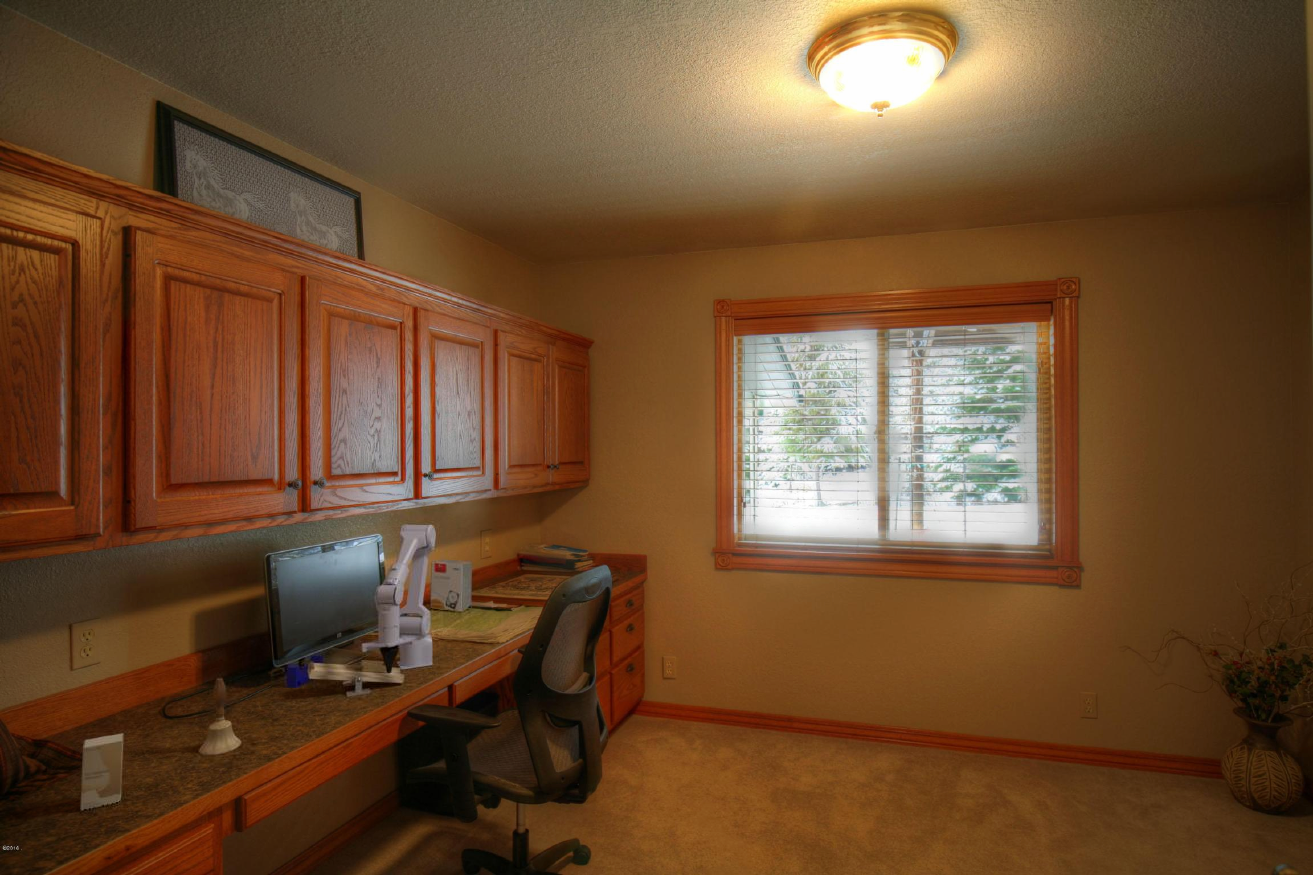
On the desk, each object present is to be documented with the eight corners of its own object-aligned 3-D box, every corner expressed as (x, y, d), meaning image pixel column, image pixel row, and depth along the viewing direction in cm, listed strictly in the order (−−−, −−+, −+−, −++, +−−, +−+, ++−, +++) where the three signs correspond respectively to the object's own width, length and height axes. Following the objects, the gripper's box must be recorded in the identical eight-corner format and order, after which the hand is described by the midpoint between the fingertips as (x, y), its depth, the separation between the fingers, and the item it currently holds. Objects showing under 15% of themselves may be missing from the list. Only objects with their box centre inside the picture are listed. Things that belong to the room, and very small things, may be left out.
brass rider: (380, 671, 203) (383, 661, 204) (383, 676, 199) (385, 665, 200) (359, 670, 200) (361, 660, 201) (361, 675, 196) (363, 664, 197)
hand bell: (199, 759, 154) (200, 687, 154) (197, 745, 161) (198, 677, 161) (242, 749, 159) (243, 679, 159) (239, 736, 166) (239, 670, 166)
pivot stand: (365, 681, 204) (365, 664, 204) (370, 692, 195) (370, 675, 195) (342, 684, 201) (342, 667, 201) (347, 696, 192) (347, 678, 192)
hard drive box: (429, 610, 289) (429, 562, 289) (440, 605, 296) (441, 559, 296) (461, 613, 284) (461, 564, 284) (472, 608, 291) (472, 561, 291)
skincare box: (79, 812, 132) (80, 748, 132) (81, 802, 136) (82, 739, 136) (122, 801, 136) (122, 739, 136) (123, 792, 140) (123, 731, 140)
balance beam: (398, 675, 207) (400, 665, 207) (402, 682, 201) (405, 673, 201) (307, 670, 195) (309, 660, 195) (309, 678, 189) (311, 668, 189)
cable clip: (309, 673, 211) (309, 653, 211) (322, 674, 210) (322, 654, 210) (281, 687, 199) (282, 666, 199) (295, 688, 198) (296, 667, 198)
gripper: (364, 632, 195) (363, 680, 195) (417, 625, 202) (417, 672, 202) (360, 626, 201) (360, 673, 201) (412, 620, 209) (412, 665, 209)
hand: (388, 672), depth 202 cm, fingers closed
